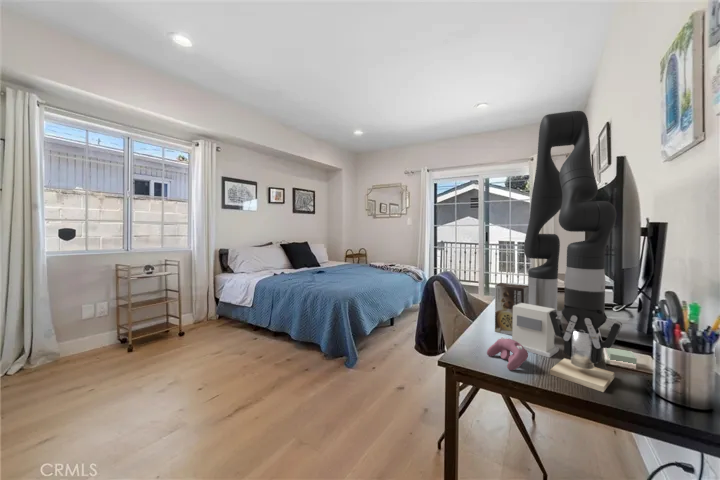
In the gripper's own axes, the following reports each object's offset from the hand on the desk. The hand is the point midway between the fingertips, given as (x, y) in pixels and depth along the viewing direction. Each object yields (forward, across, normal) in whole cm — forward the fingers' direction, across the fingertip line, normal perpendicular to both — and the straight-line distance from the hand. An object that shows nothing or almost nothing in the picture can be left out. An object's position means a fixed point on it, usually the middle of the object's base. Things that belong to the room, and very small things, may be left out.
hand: (582, 358), depth 69 cm
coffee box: (+4, +24, -18) cm, 30 cm away
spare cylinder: (+1, 0, 0) cm, 1 cm away
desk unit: (+4, +14, -9) cm, 17 cm away
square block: (+4, -4, -16) cm, 17 cm away
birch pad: (+4, 0, 0) cm, 4 cm away
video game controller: (+4, +14, +6) cm, 16 cm away
